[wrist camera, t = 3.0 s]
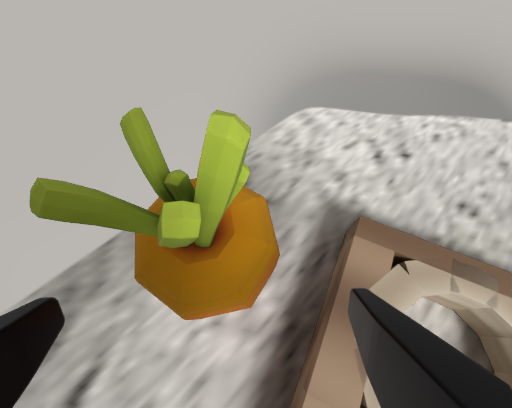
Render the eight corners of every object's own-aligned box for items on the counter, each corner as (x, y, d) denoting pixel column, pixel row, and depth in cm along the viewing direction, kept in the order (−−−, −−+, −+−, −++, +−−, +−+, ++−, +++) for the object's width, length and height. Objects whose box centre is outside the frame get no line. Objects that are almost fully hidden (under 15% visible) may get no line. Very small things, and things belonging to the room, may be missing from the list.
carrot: (193, 312, 16) (-129, 277, 3) (213, 243, 19) (76, 37, 5) (265, 328, 16) (273, 372, 2) (276, 255, 18) (315, 58, 4)
